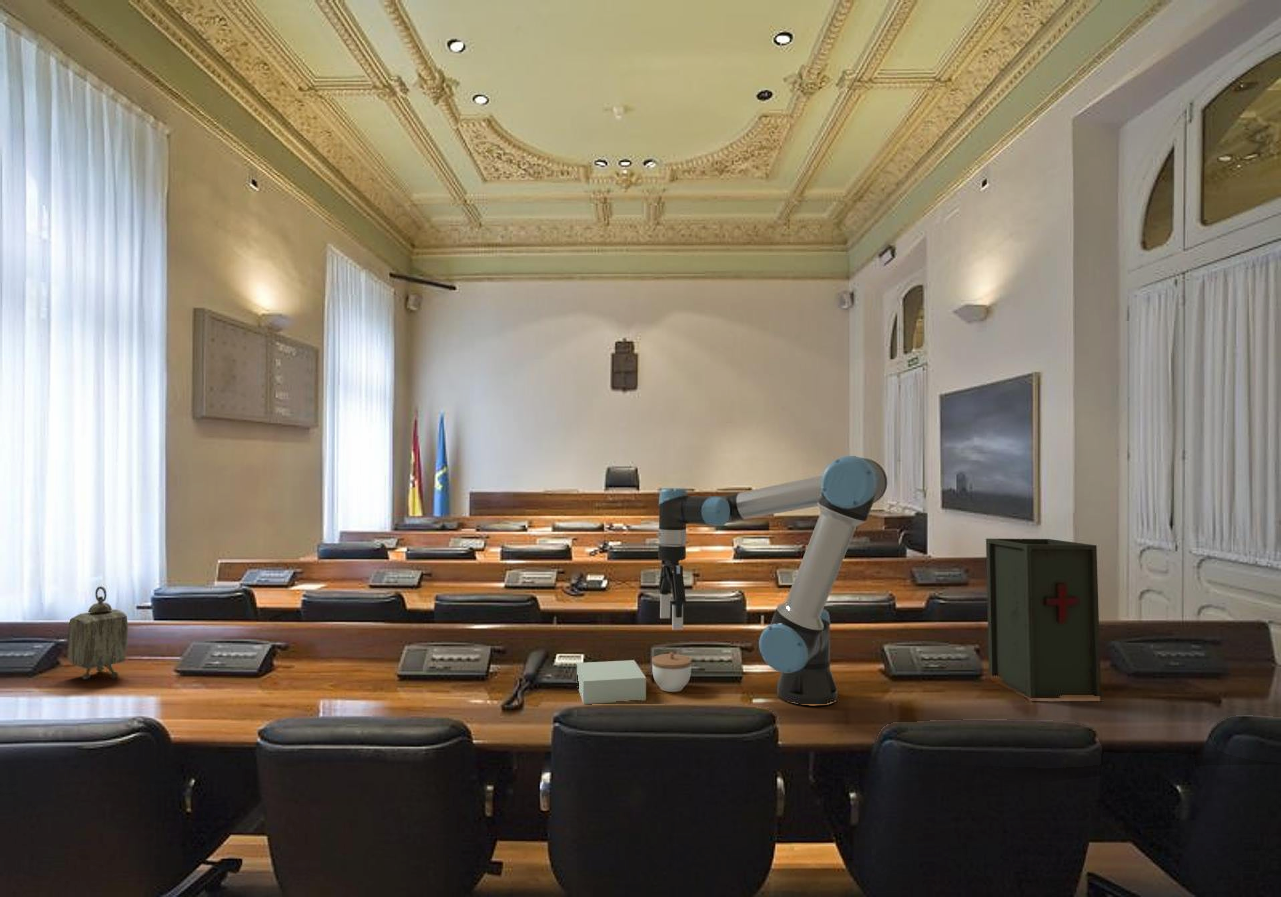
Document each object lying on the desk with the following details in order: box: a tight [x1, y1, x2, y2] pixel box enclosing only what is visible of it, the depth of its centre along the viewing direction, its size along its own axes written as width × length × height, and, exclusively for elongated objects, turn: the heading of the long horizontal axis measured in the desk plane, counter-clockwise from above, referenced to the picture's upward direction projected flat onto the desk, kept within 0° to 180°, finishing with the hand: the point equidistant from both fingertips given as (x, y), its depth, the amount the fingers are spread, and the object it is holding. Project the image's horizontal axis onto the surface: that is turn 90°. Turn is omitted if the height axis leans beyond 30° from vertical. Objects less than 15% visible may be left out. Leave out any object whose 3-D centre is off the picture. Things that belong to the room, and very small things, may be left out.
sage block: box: [576, 659, 647, 705], centre depth 166 cm, size 16×16×6 cm
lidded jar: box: [651, 652, 692, 693], centre depth 169 cm, size 11×11×9 cm
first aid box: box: [985, 538, 1102, 698], centre depth 171 cm, size 18×18×40 cm
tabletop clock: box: [67, 585, 128, 680], centre depth 175 cm, size 14×9×25 cm, turn 58°
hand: (671, 623), depth 170 cm, fingers open, 13 cm apart
